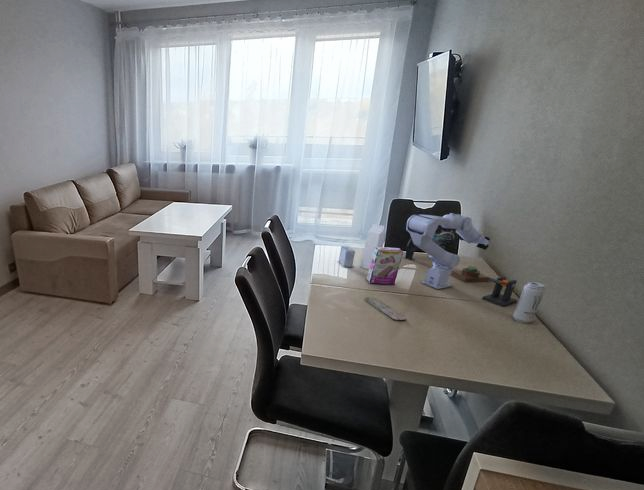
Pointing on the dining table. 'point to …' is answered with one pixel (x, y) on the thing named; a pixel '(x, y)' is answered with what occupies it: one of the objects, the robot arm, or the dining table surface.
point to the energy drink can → (529, 302)
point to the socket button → (471, 269)
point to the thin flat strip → (384, 308)
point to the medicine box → (346, 256)
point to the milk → (372, 243)
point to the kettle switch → (503, 282)
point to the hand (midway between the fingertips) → (478, 244)
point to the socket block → (470, 276)
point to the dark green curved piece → (439, 239)
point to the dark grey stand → (500, 298)
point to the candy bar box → (384, 265)
